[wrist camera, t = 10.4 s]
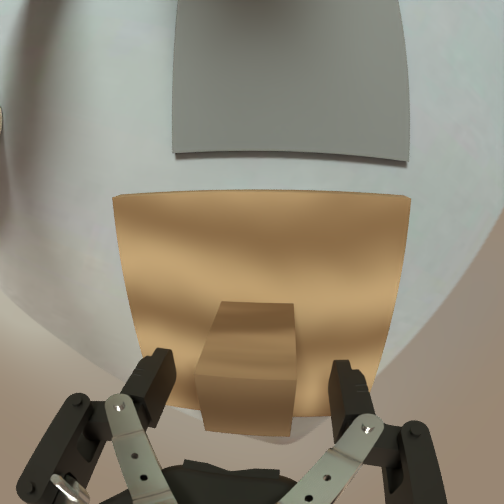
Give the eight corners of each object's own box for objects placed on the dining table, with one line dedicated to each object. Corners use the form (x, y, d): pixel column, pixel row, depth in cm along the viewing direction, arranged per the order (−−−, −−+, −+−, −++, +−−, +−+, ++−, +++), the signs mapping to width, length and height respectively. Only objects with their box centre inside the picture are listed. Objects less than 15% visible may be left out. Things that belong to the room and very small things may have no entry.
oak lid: (120, 194, 16) (39, 225, 9) (403, 195, 14) (476, 230, 8) (161, 395, 21) (131, 460, 14) (359, 404, 20) (374, 477, 13)
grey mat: (183, -31, 15) (181, -34, 15) (390, -25, 13) (391, -28, 13) (174, 153, 21) (172, 153, 21) (406, 161, 20) (408, 161, 19)
